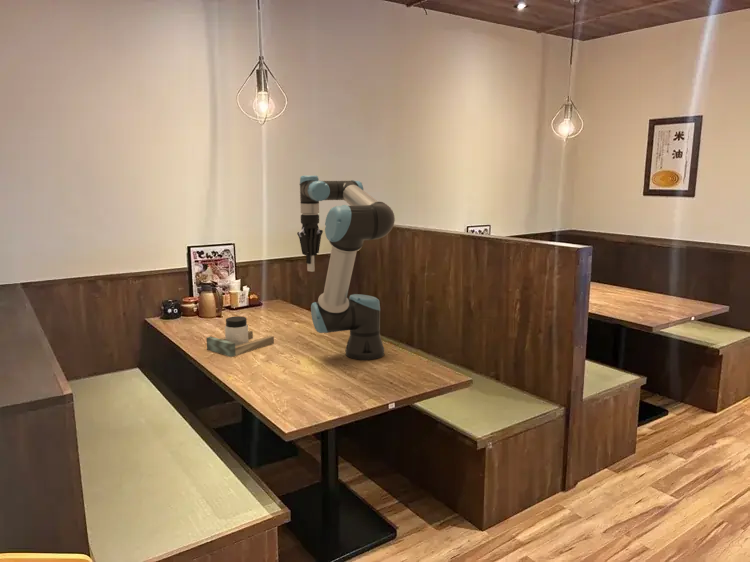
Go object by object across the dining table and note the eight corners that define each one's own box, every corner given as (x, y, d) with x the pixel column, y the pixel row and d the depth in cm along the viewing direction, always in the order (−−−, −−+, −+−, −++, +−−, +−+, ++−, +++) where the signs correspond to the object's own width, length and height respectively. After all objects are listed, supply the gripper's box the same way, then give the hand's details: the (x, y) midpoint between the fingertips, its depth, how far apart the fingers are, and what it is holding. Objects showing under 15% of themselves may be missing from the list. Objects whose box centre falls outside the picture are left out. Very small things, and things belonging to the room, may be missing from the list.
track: (273, 343, 239) (273, 331, 238) (231, 356, 222) (230, 344, 221) (249, 337, 248) (249, 325, 247) (207, 349, 230) (206, 337, 230)
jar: (226, 351, 228) (224, 322, 226) (225, 345, 236) (224, 317, 234) (249, 349, 230) (248, 320, 228) (248, 343, 238) (247, 315, 236)
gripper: (314, 212, 242) (315, 268, 246) (291, 214, 232) (293, 272, 236) (327, 213, 237) (328, 270, 242) (305, 215, 227) (306, 274, 232)
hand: (310, 271), depth 239 cm, fingers closed
